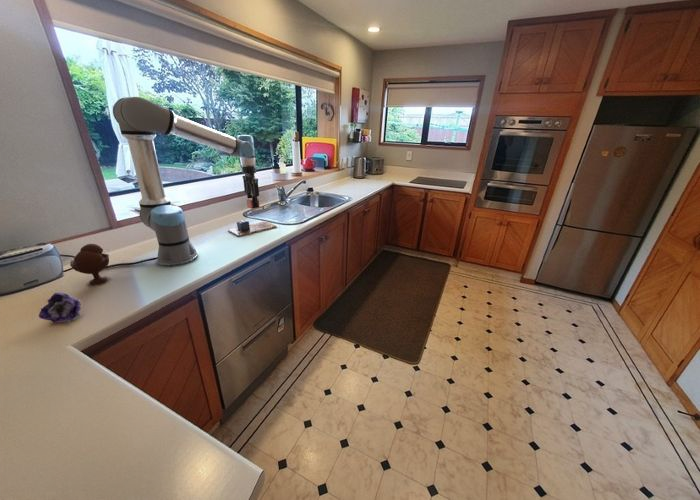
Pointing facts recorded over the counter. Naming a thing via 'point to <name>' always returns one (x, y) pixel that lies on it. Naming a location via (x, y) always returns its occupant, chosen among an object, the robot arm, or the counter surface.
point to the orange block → (251, 203)
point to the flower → (61, 308)
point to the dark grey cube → (243, 225)
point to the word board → (253, 228)
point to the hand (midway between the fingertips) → (253, 206)
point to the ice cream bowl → (91, 262)
